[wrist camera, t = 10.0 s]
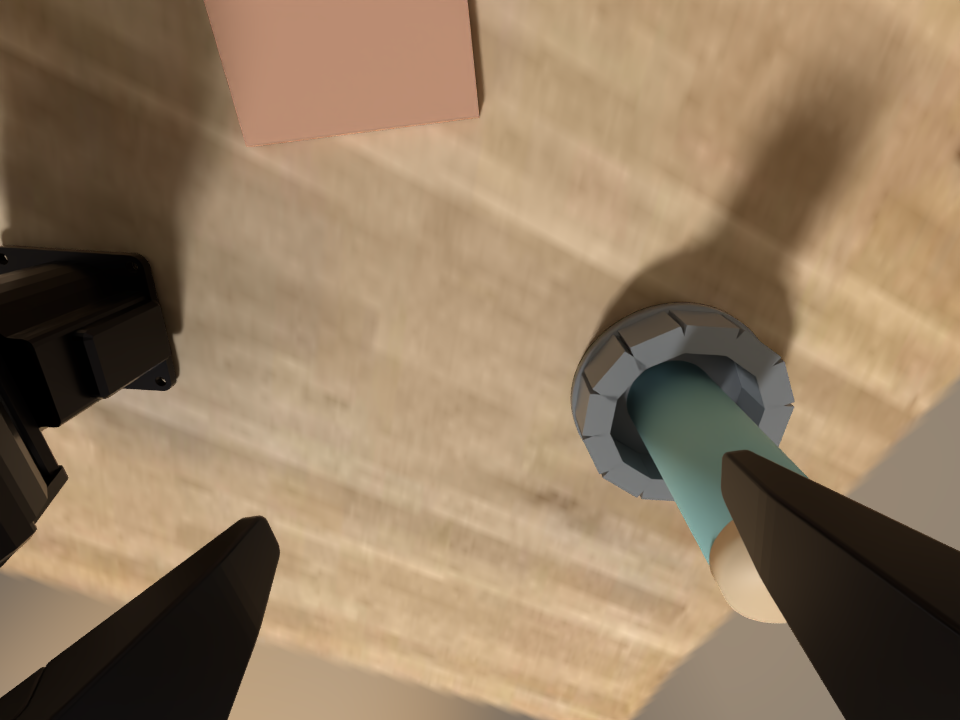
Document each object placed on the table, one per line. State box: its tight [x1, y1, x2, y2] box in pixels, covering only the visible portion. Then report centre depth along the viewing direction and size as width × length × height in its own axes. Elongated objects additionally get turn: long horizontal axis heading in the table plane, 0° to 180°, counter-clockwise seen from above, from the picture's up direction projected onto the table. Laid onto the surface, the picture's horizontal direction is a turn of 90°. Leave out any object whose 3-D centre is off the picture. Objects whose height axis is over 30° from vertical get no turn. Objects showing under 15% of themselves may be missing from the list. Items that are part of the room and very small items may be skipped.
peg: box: [627, 360, 809, 623], centre depth 18 cm, size 4×4×10 cm
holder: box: [571, 302, 795, 501], centre depth 21 cm, size 9×9×3 cm
